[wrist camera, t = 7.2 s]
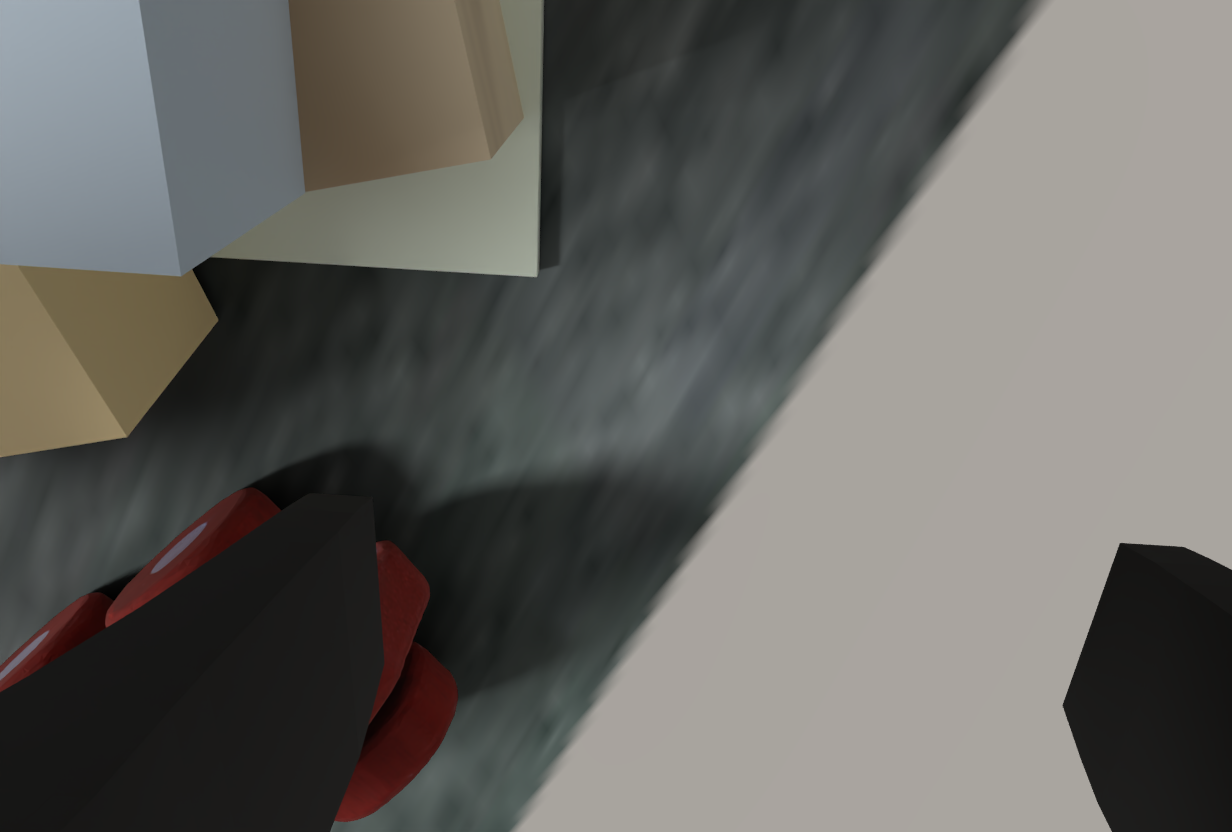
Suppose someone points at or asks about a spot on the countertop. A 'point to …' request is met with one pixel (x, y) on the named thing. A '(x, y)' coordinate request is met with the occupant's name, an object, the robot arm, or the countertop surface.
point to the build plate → (431, 198)
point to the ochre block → (90, 351)
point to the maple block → (400, 86)
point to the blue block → (143, 130)
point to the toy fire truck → (412, 677)
